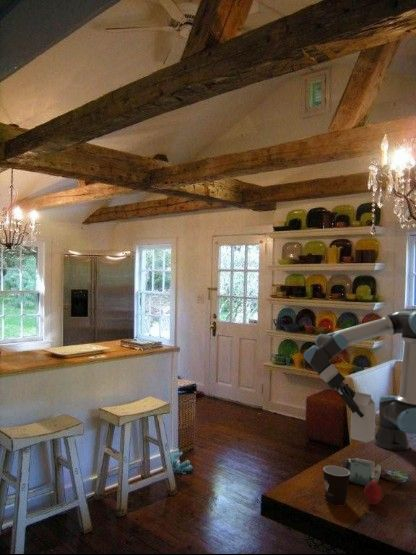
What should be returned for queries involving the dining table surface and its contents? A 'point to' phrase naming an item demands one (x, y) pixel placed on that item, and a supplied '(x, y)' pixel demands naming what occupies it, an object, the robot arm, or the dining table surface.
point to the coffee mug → (336, 484)
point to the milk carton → (357, 425)
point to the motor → (362, 471)
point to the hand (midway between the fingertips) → (370, 420)
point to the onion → (373, 492)
